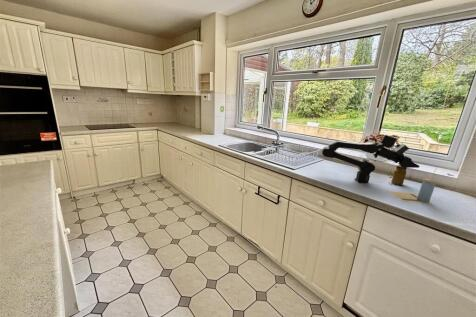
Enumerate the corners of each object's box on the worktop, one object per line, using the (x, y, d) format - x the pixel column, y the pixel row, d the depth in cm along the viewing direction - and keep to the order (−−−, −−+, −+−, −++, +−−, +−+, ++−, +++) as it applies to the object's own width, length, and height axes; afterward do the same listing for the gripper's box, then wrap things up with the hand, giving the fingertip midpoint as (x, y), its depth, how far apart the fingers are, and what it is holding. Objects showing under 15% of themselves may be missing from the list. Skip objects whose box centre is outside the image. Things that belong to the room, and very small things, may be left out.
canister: (421, 202, 108) (428, 181, 104) (414, 198, 113) (420, 177, 109) (431, 203, 107) (439, 182, 104) (424, 199, 112) (431, 178, 109)
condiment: (392, 181, 138) (397, 164, 135) (407, 185, 132) (413, 167, 129) (388, 183, 134) (393, 166, 130) (404, 188, 128) (410, 169, 124)
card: (403, 202, 108) (403, 201, 108) (387, 191, 120) (387, 191, 120) (433, 205, 107) (433, 204, 107) (414, 194, 120) (414, 193, 119)
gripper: (400, 144, 114) (432, 156, 110) (390, 139, 131) (417, 149, 127) (389, 162, 118) (419, 174, 114) (380, 155, 135) (406, 165, 131)
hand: (415, 164), depth 121 cm, fingers open, 9 cm apart
